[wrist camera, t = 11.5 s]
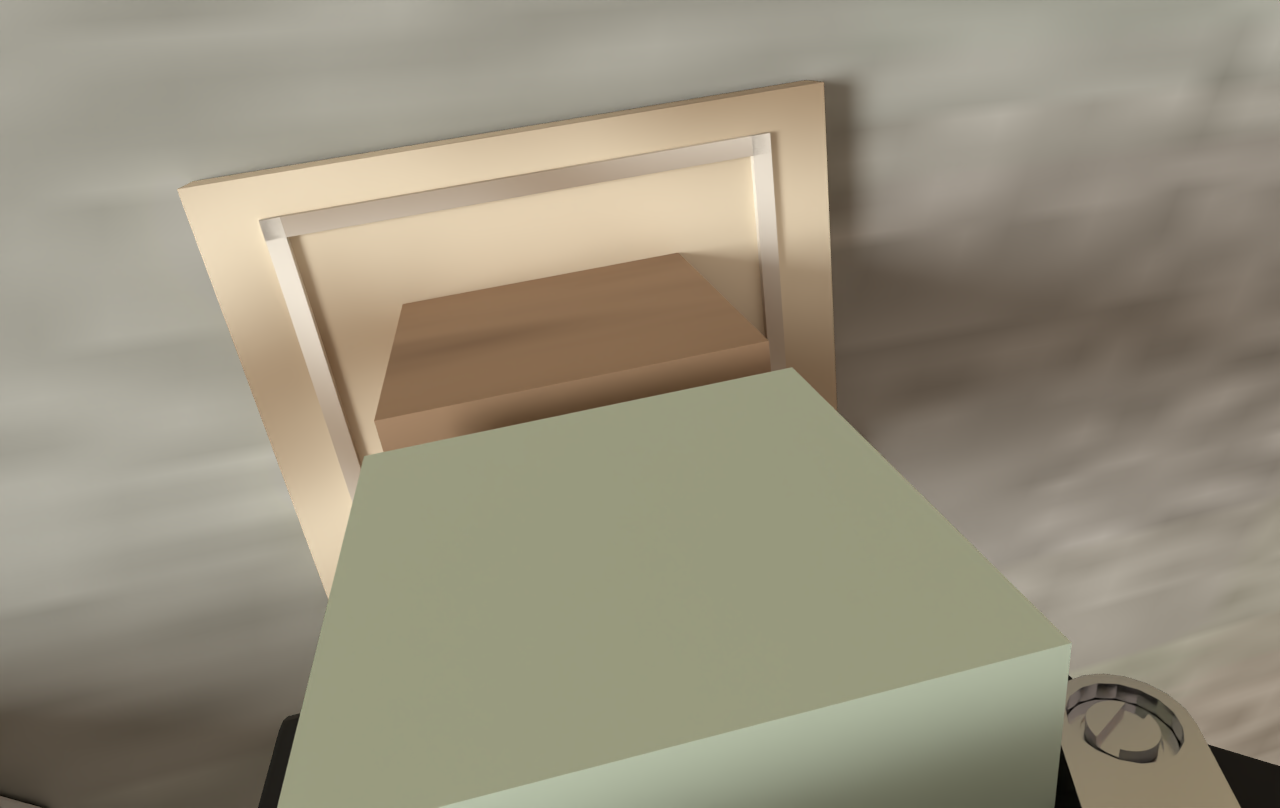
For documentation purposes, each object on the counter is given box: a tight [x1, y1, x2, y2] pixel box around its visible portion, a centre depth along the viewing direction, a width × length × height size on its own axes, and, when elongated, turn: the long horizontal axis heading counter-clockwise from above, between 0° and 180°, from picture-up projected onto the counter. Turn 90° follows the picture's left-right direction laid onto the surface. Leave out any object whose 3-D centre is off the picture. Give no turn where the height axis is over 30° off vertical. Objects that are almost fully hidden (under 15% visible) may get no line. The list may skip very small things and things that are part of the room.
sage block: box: [277, 367, 1072, 808], centre depth 10 cm, size 6×6×6 cm
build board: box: [177, 80, 837, 600], centre depth 22 cm, size 25×13×1 cm, turn 8°
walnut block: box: [374, 253, 771, 452], centre depth 16 cm, size 6×6×6 cm
